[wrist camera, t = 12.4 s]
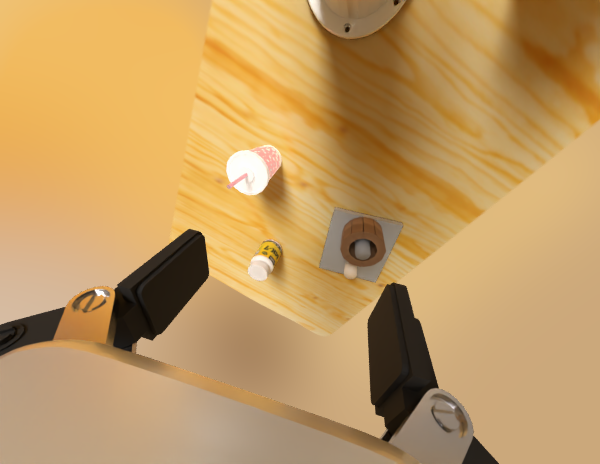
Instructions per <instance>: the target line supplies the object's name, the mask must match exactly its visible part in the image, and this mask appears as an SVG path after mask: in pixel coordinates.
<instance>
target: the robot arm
mask: <svg viewBox="0 0 600 464" xmlns="http://www.w3.org/2000/svg"><path fill="white" fill-rule="evenodd" d="M394 1H395V0H308V2H309V5H310V7H311V10H312V12H313V13H314V15H315V17H316V18H317V20H318V21H319V22H320V24H321V25H322V26H323V27H324V28H325V29H326V30H328V31H329V32H330V33H332V34H334V35H336V36H338V37H341V38H346V39H358V38H362V37H365V36H368V35H370V34H372V33H374V32H376V31H378V30H379V29H381V28H382V27H383V26H385V25H386V24H387V23H388V22H389V21H390V20H391V19H392V18H393V17H394V16H395V15H396V14H397V13H398V12H399V10H400V9H401V7H402V6H403V4H404V3H405V2H406V0H397V1H398V4H397V5H394ZM347 27H348V28H349V29H350V30H349V31H348V32H345V29H346V28H347ZM208 276H209V268H208V260H207V252H206V244H205V237H204V236H203V235H202V233H201V232H199V231H195V230H191V229H188V230H187V231H185V232H184V233H183V234H182V235H180V236H179V237H178V238H176V239H175V240H174V241H173V242H171V243H170V244H169V245H168V246H166V247H165V248H164V249H162V251H160V252H159V253H157V254H156V255H155V256H153V257H152V258H151V259H150V260H148V261H147V262H146V263H144V264H143V265H142V266H141V267H139V268H138V269H137V270H136V271H134V272H133V273H132V274H131V275H129V276H128V277H127V278H125V279H124V280H123V281H122V282H120V283H119V284H118V287H117V288H115V290H113V289H112V288H110V287H108V286H98V287H93V288H90V289H87V290H85V291H83V292H80V293H79V294H77V295H76V296H74V297H73V298H72V299H71V300H70V301H69V302H68V304H67V305H66V307H63V308H60V309H56V310H52V311H48V312H44V313H41V314H37V315H33V316H30V317H26V318H22V319H18V320H15V321H11V322H7V323H4V324H1V325H0V464H499V463H498V462H497V461H496V460H495V459H494V458H493V457H492V456H491V454H490V453H489V452H488V451H487V450H486V449H485V448H484V447H483V446H482V444H480V442H479V441H478V440H477V439H476V438H475V437H474V436H473V433H474V431H473V425H472V422H471V419H470V417H469V415H468V413H467V411H466V410H465V408H464V407H463V406H462V404H461V403H460V402H459V401H458V400H457V399H456V398H455V397H454V396H452V395H451V394H450V393H448V392H446V391H444V390H442V389H439V387H438V384H437V380H436V377H435V373H434V369H433V366H432V362H431V359H430V355H429V351H428V348H427V344H426V341H425V337H424V334H423V330H422V327H421V324H420V321H419V320H418V319H416V318H414V314H413V310H412V306H411V302H410V298H409V294H408V291H407V288H406V286H404V285H400V284H397V283H391V285H387V286H386V287H385V289H384V291H383V293H382V295H381V297H380V298H379V300H378V302H377V304H376V306H375V308H374V310H373V311H372V313H371V315H370V317H369V319H368V347H369V370H370V391H371V403H372V404H373V405H375V411H376V415H379V416H382V417H384V420H385V427H386V428H387V429H386V431H385V432H384V433H383V435H382V436H381V438H380V439H379V438H376V437H374V436H372V435H369V434H367V433H364V432H362V431H359V430H357V429H354V428H351V427H348V426H346V425H343V424H340V423H337V422H335V421H332V420H329V419H327V418H323V417H321V416H318V415H315V414H312V413H309V412H306V411H304V410H301V409H298V408H295V407H292V406H289V405H286V404H283V403H280V402H278V401H275V400H272V399H269V398H266V397H263V396H260V395H257V394H254V393H252V392H249V391H246V390H243V389H240V388H236V387H234V386H231V385H228V384H225V383H222V382H219V381H216V380H213V379H210V378H208V377H205V376H201V375H198V374H196V373H193V372H190V371H187V370H184V369H181V368H178V367H175V366H172V365H169V364H166V363H163V362H160V361H157V360H154V359H151V358H148V357H145V356H142V355H139V354H136V347H137V341H138V340H139V339H140V338H141V337H143V338H146V339H149V340H153V339H154V338H155V337H156V336H157V335H159V334H161V333H162V332H163V331H164V330H165V329H166V328H167V327H168V325H169V324H170V323H171V322H172V320H173V319H174V318H175V317H176V316H177V315H178V313H179V312H180V311H181V310H182V309H183V307H184V306H185V305H186V304H187V302H188V301H189V300H190V299H191V298H192V296H193V295H194V294H195V293H196V292H197V290H198V289H199V288H200V287H201V285H202V284H203V283H204V282H205V281H206V279H207V278H208Z"/></svg>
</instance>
